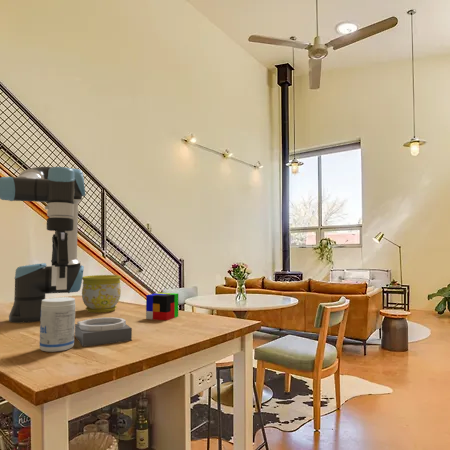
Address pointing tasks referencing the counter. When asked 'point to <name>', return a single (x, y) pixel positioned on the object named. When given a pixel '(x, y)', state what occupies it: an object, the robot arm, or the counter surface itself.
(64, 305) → the supplement tub
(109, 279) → the flowerpot
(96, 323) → the grey square ring block
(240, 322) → the counter surface
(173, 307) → the puzzle toy
